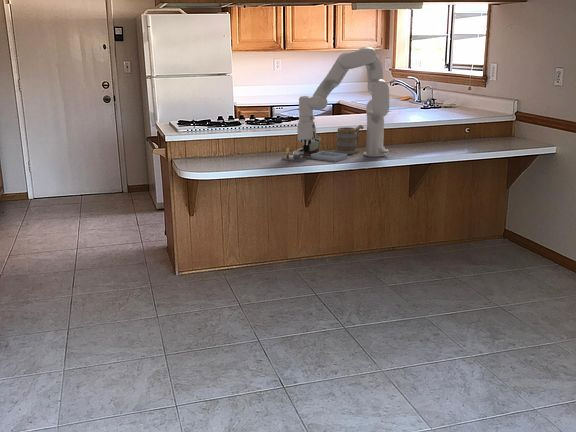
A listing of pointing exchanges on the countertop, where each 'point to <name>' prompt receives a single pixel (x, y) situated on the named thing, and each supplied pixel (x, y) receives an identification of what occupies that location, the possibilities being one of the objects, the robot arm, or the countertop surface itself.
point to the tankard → (348, 140)
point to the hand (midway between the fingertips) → (306, 151)
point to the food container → (314, 146)
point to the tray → (329, 156)
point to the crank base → (297, 159)
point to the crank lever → (298, 152)
